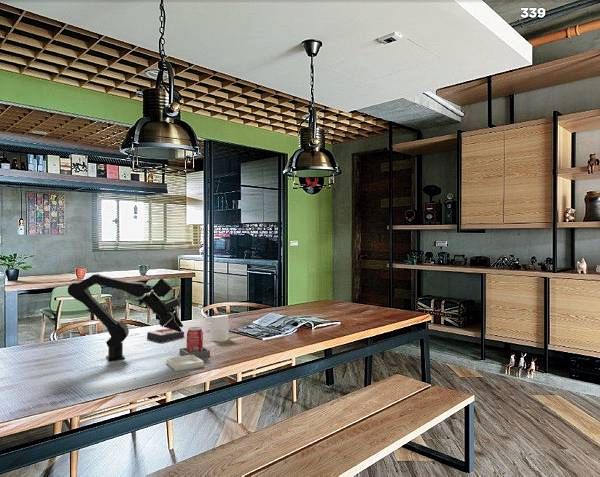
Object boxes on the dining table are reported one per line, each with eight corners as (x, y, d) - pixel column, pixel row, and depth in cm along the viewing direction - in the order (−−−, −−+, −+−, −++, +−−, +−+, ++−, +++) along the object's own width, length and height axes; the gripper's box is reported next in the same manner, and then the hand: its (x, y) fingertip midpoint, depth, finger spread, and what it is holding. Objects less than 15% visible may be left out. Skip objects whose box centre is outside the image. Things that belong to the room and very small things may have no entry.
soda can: (197, 352, 200) (197, 326, 200) (205, 355, 195) (206, 328, 195) (183, 354, 195) (183, 328, 195) (191, 358, 190) (192, 331, 190)
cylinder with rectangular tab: (216, 342, 218) (216, 318, 218) (207, 338, 225) (207, 315, 225) (231, 339, 224) (231, 316, 224) (222, 336, 231) (222, 313, 230)
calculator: (184, 330, 228) (160, 334, 216) (184, 338, 228) (160, 342, 216) (171, 327, 235) (147, 331, 222) (170, 335, 235) (146, 339, 222)
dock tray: (166, 364, 182) (166, 358, 182) (193, 359, 188) (193, 354, 188) (175, 371, 172) (176, 365, 172) (203, 366, 179) (203, 361, 179)
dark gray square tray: (179, 354, 196) (179, 348, 196) (200, 350, 202) (201, 345, 202) (187, 359, 188) (187, 353, 188) (209, 356, 194) (210, 350, 194)
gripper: (167, 294, 183) (194, 320, 186) (171, 288, 202) (195, 311, 204) (147, 313, 182) (174, 339, 184) (153, 306, 200) (178, 329, 203)
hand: (181, 328), depth 194 cm, fingers open, 9 cm apart
